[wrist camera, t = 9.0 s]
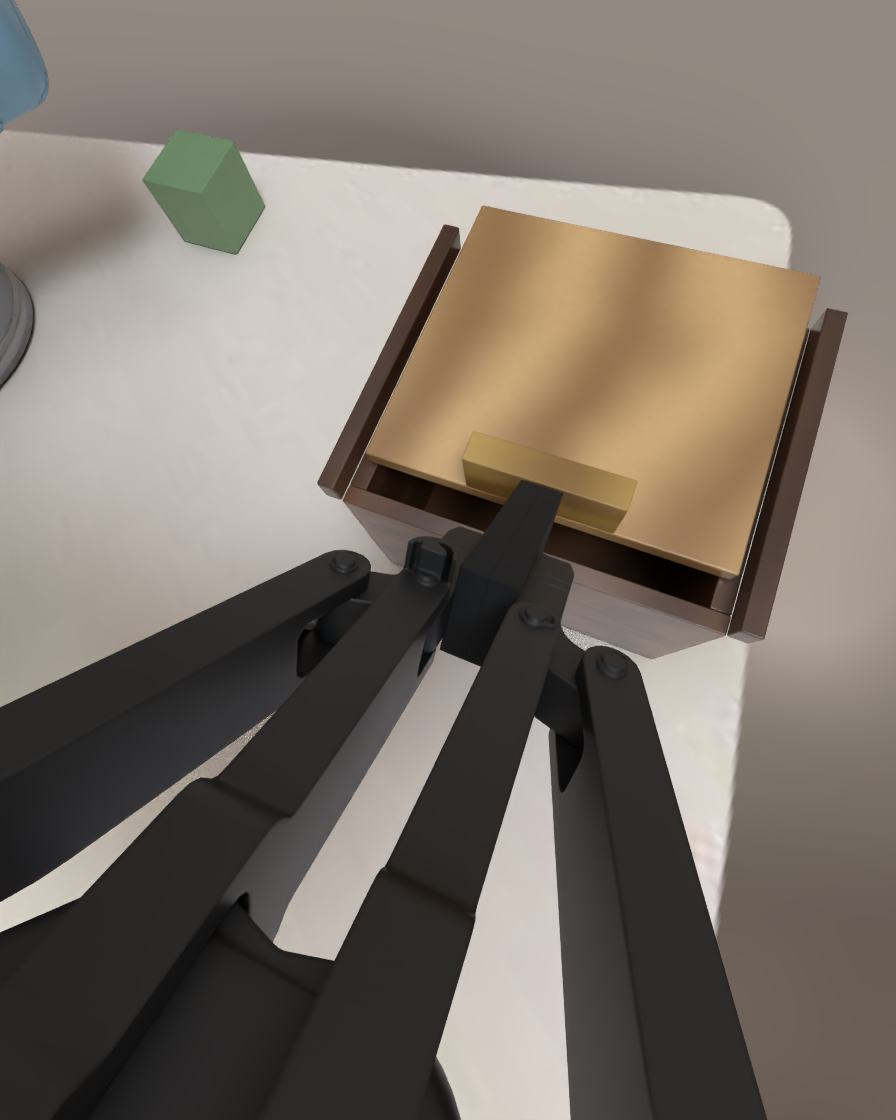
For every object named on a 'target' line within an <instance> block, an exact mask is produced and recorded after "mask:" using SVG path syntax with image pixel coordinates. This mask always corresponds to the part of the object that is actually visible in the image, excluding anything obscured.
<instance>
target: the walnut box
mask: <svg viewBox="0 0 896 1120" xmlns="http://www.w3.org/2000/svg"><path fill="white" fill-rule="evenodd" d="M460 249H461V245H460V234H459V228H458V227H454V226H450V225H444V226H443V228H442V230H441V232H440V234H439V236H438V238H437V240H436V242H435V244H434V246H433V248H432V250H431V252H430V254H429V256H428V258H427V260H426V262H425V264H424V266H423V268H422V270H421V272H420V274H419V276H418V279H417V281H416V283H415V285H414V287H413V289H412V291H411V293H410V295H409V297H408V299H407V301H406V303H405V305H404V307H403V309H402V311H401V313H400V315H399V317H398V319H397V321H396V323H395V325H394V327H393V329H392V331H391V334H390V336H389V338H388V340H387V342H386V344H385V346H384V348H383V350H382V352H381V354H380V356H379V358H378V360H377V362H376V364H375V366H374V368H373V370H372V372H371V374H370V376H369V378H368V380H367V382H366V384H365V387H364V389H363V391H362V393H361V395H360V397H359V399H358V401H357V403H356V405H355V407H354V409H353V411H352V413H351V415H350V417H349V419H348V421H347V423H346V425H345V427H344V429H343V431H342V433H341V435H340V437H339V439H338V442H337V444H336V446H335V448H334V450H333V452H332V454H331V456H330V458H329V460H328V462H327V464H326V466H325V468H324V470H323V472H322V474H321V476H320V478H319V480H318V483H317V484H318V485H319V486H320V488H321V489H322V490H323V491H324V492H325V494H326V495H329V496H331V497H334V498H337V499H342V498H343V495H344V493H345V491H346V489H347V487H348V485H349V483H350V481H351V479H352V476H353V474H354V472H355V470H356V468H357V466H358V464H359V462H360V460H361V458H362V455H363V453H364V451H365V449H366V447H367V445H368V443H369V441H370V439H371V437H372V434H373V432H374V430H375V428H376V426H377V424H378V422H379V420H380V418H381V415H382V413H383V411H384V409H385V407H386V405H387V403H388V401H389V399H390V397H391V394H392V392H393V390H394V388H395V386H396V384H397V382H398V380H399V378H400V375H401V373H402V371H403V369H404V367H405V365H406V363H407V361H408V359H409V357H410V354H411V352H412V350H413V348H414V346H415V344H416V342H417V340H418V338H419V336H420V333H421V331H422V329H423V327H424V325H425V323H426V321H427V319H428V317H429V314H430V312H431V310H432V308H433V306H434V304H435V302H436V300H437V298H438V296H439V293H440V291H441V289H442V287H443V285H444V283H445V281H446V279H447V277H448V274H449V272H450V270H451V268H452V266H453V264H454V262H455V260H456V258H457V256H458V253H459V251H460ZM847 314H848V313H847V312H842V311H838V310H833V309H829V308H827V310H826V311H825V312H824V313H823V314H822V315H821V317H820V318H819V319H818V320H817V322H816V323H815V324H814V325H813V327H812V328H811V330H810V334H809V337H808V333H809V329H808V328H807V330H806V333H805V337H804V341H803V344H802V348H801V351H800V355H799V359H798V362H797V366H796V370H795V373H794V377H793V380H792V384H791V388H790V391H789V395H788V399H787V402H786V406H785V409H784V413H783V417H782V420H781V424H780V428H779V431H778V435H777V439H776V442H775V446H774V449H773V453H772V457H771V460H770V464H769V468H768V471H767V475H766V478H765V482H764V486H763V489H762V493H761V497H760V500H759V504H758V507H757V511H756V515H755V518H754V522H753V526H752V529H751V533H750V536H749V540H748V544H747V547H746V551H745V555H744V558H743V562H742V565H741V569H740V573H739V575H738V576H736V577H734V578H733V579H731V580H728V579H725V578H722V577H719V576H716V575H713V574H710V573H707V572H704V571H701V570H698V569H695V568H692V567H689V566H686V565H683V564H680V563H677V562H674V561H671V560H668V559H665V558H662V557H659V556H656V555H653V554H650V553H647V552H644V551H641V550H637V549H634V548H631V547H628V546H625V545H622V544H619V543H616V542H613V541H610V540H607V539H604V538H601V537H598V536H595V535H592V534H589V533H586V532H583V531H580V530H577V529H574V528H571V527H568V526H565V525H562V524H559V523H556V522H554V523H553V526H552V528H551V531H550V534H549V537H548V540H547V543H546V546H545V549H544V552H543V554H544V555H547V556H550V557H553V558H555V559H558V560H561V561H564V562H567V563H570V564H571V567H572V569H573V571H574V574H575V575H574V578H573V582H572V585H571V588H570V592H569V595H568V599H567V602H566V605H565V609H564V612H563V615H562V619H561V626H563V627H566V628H569V629H571V630H574V631H577V632H579V633H582V634H585V635H588V636H590V637H593V638H596V639H598V640H601V641H604V642H606V643H609V644H612V645H614V646H617V647H620V648H623V649H625V650H628V651H631V652H633V653H636V654H639V655H641V656H644V657H647V658H649V659H654V658H657V657H660V656H663V655H667V654H670V653H673V652H676V651H679V650H682V649H685V648H689V647H692V646H695V645H698V644H701V643H704V642H707V641H710V640H714V639H717V638H720V637H723V636H726V633H727V630H728V626H729V622H730V619H731V616H730V615H731V614H732V611H733V607H734V603H735V600H736V596H737V592H738V589H739V585H740V581H741V578H742V574H743V570H744V567H745V563H746V559H747V556H748V552H749V549H750V545H751V541H752V538H753V534H754V530H755V527H756V523H757V519H758V516H759V512H760V508H761V505H762V501H763V497H764V494H765V490H766V487H767V483H768V479H769V476H770V472H771V468H772V465H773V461H774V457H775V454H776V450H777V446H778V443H779V439H780V435H781V431H782V428H783V424H784V421H785V417H786V414H787V410H788V406H789V403H790V399H791V395H792V392H793V388H794V384H795V381H796V377H797V373H798V370H799V366H800V362H801V359H802V355H803V351H804V348H805V344H806V341H807V337H808V341H807V345H806V349H805V352H804V356H803V360H802V363H801V367H800V370H799V374H798V378H797V381H796V385H795V389H794V393H793V396H792V400H791V403H790V407H789V411H788V414H787V418H786V422H785V425H784V429H783V433H782V436H781V440H780V443H779V447H778V451H777V454H776V458H775V462H774V465H773V469H772V473H771V476H770V480H769V484H768V487H767V491H766V495H765V498H764V502H763V506H762V509H761V513H760V517H759V520H758V524H757V527H756V531H755V535H754V538H753V542H752V546H751V549H750V553H749V557H748V560H747V564H746V568H745V571H744V575H743V579H742V582H741V586H740V590H739V593H738V597H737V601H736V604H735V608H734V612H733V615H732V619H731V623H730V626H729V630H728V634H727V636H729V637H731V638H734V639H737V640H740V641H743V642H746V643H752V642H756V641H760V640H763V639H764V638H765V634H766V630H767V627H768V623H769V619H770V615H771V611H772V607H773V603H774V599H775V595H776V591H777V588H778V584H779V580H780V576H781V572H782V568H783V564H784V560H785V556H786V552H787V549H788V545H789V540H790V537H791V533H792V529H793V525H794V521H795V517H796V513H797V510H798V506H799V502H800V498H801V494H802V490H803V486H804V482H805V478H806V475H807V471H808V467H809V462H810V459H811V455H812V451H813V447H814V443H815V439H816V436H817V432H818V427H819V424H820V420H821V416H822V412H823V408H824V404H825V400H826V396H827V393H828V388H829V385H830V381H831V377H832V373H833V369H834V365H835V361H836V357H837V354H838V350H839V346H840V342H841V338H842V334H843V330H844V326H845V322H846V319H847ZM343 502H344V503H345V505H346V506H347V507H348V508H349V510H350V511H351V512H352V513H353V515H354V516H355V517H356V518H357V520H358V521H359V522H360V523H361V525H362V526H363V527H364V528H365V530H366V531H367V532H368V533H369V535H370V536H371V537H372V538H373V540H374V541H375V542H376V543H377V545H378V546H379V547H380V548H381V550H382V551H383V552H384V553H385V555H386V556H387V557H388V558H389V560H390V561H391V562H392V563H394V564H396V565H399V566H402V567H404V564H405V558H406V552H407V546H408V541H410V540H411V539H413V538H416V537H421V536H430V537H436V538H440V539H442V537H443V536H444V535H445V534H446V533H447V531H449V530H451V529H454V528H457V527H459V526H461V527H464V528H467V529H469V530H472V531H475V532H478V533H481V534H484V532H485V531H486V529H487V528H488V527H489V525H490V524H491V522H492V521H493V520H494V518H495V517H496V515H497V514H498V513H499V511H500V510H501V508H502V507H503V505H501V504H498V503H495V502H492V501H489V500H486V499H483V498H480V497H477V496H474V495H471V494H468V493H465V492H462V491H459V490H456V489H453V488H450V487H447V486H444V485H441V484H438V483H435V482H432V481H429V480H426V479H423V478H420V477H417V476H414V475H410V474H407V473H404V472H401V471H398V470H395V469H392V468H389V467H386V466H383V465H380V464H377V463H374V462H371V461H369V459H368V457H367V455H366V454H364V457H363V459H362V461H361V463H360V465H359V467H358V469H357V471H356V473H355V475H354V478H353V480H352V482H351V484H350V486H349V488H348V490H347V492H346V494H345V497H344V499H343Z"/></svg>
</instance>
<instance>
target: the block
mask: <svg viewBox="0 0 896 1120" xmlns="http://www.w3.org/2000/svg"><path fill="white" fill-rule="evenodd" d="M143 182H144V183H145V185H146V186H147V188H148V189H149V191H150V192H151V194H152V195H153V196H154V198H155V199H156V201H157V202H158V204H159V205H160V207H161V208H162V209H163V211H164V212H165V214H166V215H167V217H168V218H169V220H170V221H171V222H172V224H173V225H174V227H175V228H176V230H177V231H178V233H179V234H180V235H181V237H182V238H183V240H184V241H186V242H190V243H194V244H198V245H202V246H206V247H210V248H214V249H218V250H221V251H225V252H229V253H233V254H237V253H238V251H239V249H240V248H241V246H242V244H243V243H244V241H245V239H246V238H247V236H248V234H249V233H250V231H251V229H252V228H253V226H254V224H255V223H256V221H257V219H258V217H259V216H260V214H261V212H262V211H263V209H264V207H265V205H264V203H263V201H262V199H261V197H260V195H259V192H258V190H257V188H256V186H255V184H254V182H253V180H252V178H251V176H250V174H249V172H248V170H247V168H246V166H245V163H244V161H243V159H242V157H241V155H240V153H239V151H238V149H237V147H236V145H235V143H234V141H231V140H226V139H222V138H216V137H212V136H207V135H202V134H197V133H192V132H187V131H182V130H176V131H175V132H174V134H173V135H172V137H171V138H170V140H169V141H168V143H167V144H166V145H165V147H164V148H163V150H162V151H161V153H160V154H159V156H158V157H157V159H156V160H155V162H154V163H153V165H152V166H151V168H150V169H149V171H148V172H147V174H146V175H145V177H144V178H143Z"/></svg>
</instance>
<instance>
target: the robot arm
mask: <svg viewBox="0 0 896 1120" xmlns="http://www.w3.org/2000/svg"><path fill="white" fill-rule="evenodd" d="M47 92H48V74H47V70H46V67H45V63H44V61H43V58H42V56H41V53H40V51H39V49H38V46H37V44H36V42H35V40H34V38H33V36H32V34H31V32H30V30H29V28H28V26H27V24H26V22H25V20H24V18H23V16H22V14H21V12H20V10H19V8H18V7H17V4H16V2H15V1H14V0H0V133H1V132H2V131H3V126H4V125H5V124H7V123H9V122H11V121H13V120H14V119H16V118H18V117H20V116H22V115H24V114H26V113H27V112H29V111H31V110H33V109H35V108H37V107H38V106H40V105H41V104H42V102H43V101H44V100H45V98H46V96H47ZM32 322H33V309H32V303H31V299H30V296H29V294H28V291H27V290H26V288H25V286H24V285H23V284H22V282H21V281H20V280H19V279H18V278H17V277H16V276H15V275H13V274H12V273H11V272H10V271H9V270H8V269H7V268H5V267H4V266H3V265H2V264H1V263H0V385H1V384H2V383H3V382H4V381H5V380H6V379H7V377H8V376H9V375H10V374H11V372H12V371H13V369H14V368H15V367H16V365H17V363H18V362H19V360H20V358H21V356H22V355H23V353H24V351H25V348H26V346H27V343H28V340H29V337H30V334H31V329H32ZM563 494H564V493H561V492H558V491H555V490H552V489H549V488H546V487H543V486H540V485H537V484H533V483H530V482H527V481H524V480H521V482H520V483H519V484H518V486H517V487H516V489H515V490H514V491H513V493H512V494H511V496H510V497H509V498H508V500H507V501H506V503H505V504H504V505H503V507H502V508H501V510H500V511H499V513H498V514H497V515H496V517H495V518H494V520H493V521H492V522H491V524H490V525H489V527H488V528H487V529H486V531H485V532H484V534H481V533H478V532H475V531H472V530H469V529H467V528H464V527H461V526H459V527H457V528H454V529H451V530H449V531H447V533H446V534H445V535H444V536H443V537H442V539H440V538H436V537H430V536H421V537H416V538H413V539H411V540H410V541H408V546H407V552H406V558H405V564H404V569H403V570H402V571H401V572H400V573H399V574H397V575H391V574H382V573H376V572H370V570H371V564H370V562H369V560H368V559H367V558H365V557H364V556H363V555H361V554H358V553H356V552H353V551H348V550H335V551H331V552H328V553H325V554H323V555H321V556H319V557H316V558H314V559H312V560H310V561H308V562H306V563H304V564H302V565H300V566H297V567H295V568H293V569H291V570H289V571H287V572H285V573H283V574H281V575H278V576H276V577H274V578H272V579H270V580H268V581H266V582H264V583H262V584H259V585H257V586H255V587H253V588H251V589H249V590H247V591H245V592H243V593H240V594H238V595H236V596H234V597H232V598H230V599H228V600H226V601H224V602H221V603H219V604H217V605H215V606H213V607H211V608H209V609H207V610H205V611H202V612H200V613H198V614H196V615H194V616H192V617H190V618H188V619H186V620H184V621H181V622H179V623H177V624H175V625H173V626H171V627H169V628H167V629H165V630H162V631H160V632H158V633H156V634H154V635H152V636H150V637H148V638H146V639H143V640H141V641H139V642H137V643H135V644H133V645H131V646H129V647H127V648H124V649H122V650H120V651H118V652H116V653H114V654H112V655H110V656H108V657H105V658H103V659H101V660H99V661H97V662H95V663H93V664H91V665H89V666H86V667H84V668H82V669H80V670H78V671H76V672H74V673H72V674H70V675H67V676H65V677H63V678H61V679H59V680H57V681H55V682H53V683H51V684H49V685H46V686H44V687H42V688H40V689H38V690H36V691H34V692H32V693H30V694H27V695H25V696H23V697H21V698H19V699H17V700H15V701H13V702H11V703H8V704H6V705H4V706H2V707H0V902H1V901H3V900H5V899H6V898H8V897H10V896H12V895H13V894H15V893H17V892H19V891H20V890H22V889H24V888H26V887H27V886H29V885H31V884H33V883H34V882H36V881H38V880H39V879H41V878H42V877H44V876H45V875H47V874H48V873H50V872H51V871H53V870H54V869H56V868H57V867H59V866H60V865H62V864H63V863H65V862H66V861H68V860H69V859H71V858H72V857H74V856H75V855H76V854H78V853H79V852H80V851H82V850H83V849H85V848H86V847H87V846H89V845H90V844H92V843H93V842H94V841H96V840H97V839H99V838H100V837H101V836H103V835H104V834H105V833H107V832H108V831H110V830H111V829H112V828H114V827H115V826H117V825H118V824H119V823H121V822H122V821H124V820H125V819H126V818H128V817H129V816H130V815H132V814H133V813H135V812H136V811H137V810H139V809H140V808H142V807H143V806H144V805H146V804H147V803H149V802H150V801H151V800H153V799H154V798H155V797H157V796H158V795H160V794H161V793H162V792H164V791H165V790H167V789H168V788H169V787H171V786H172V785H174V784H175V783H176V782H178V781H179V780H181V779H182V778H183V777H185V776H186V775H187V774H189V773H190V772H192V771H193V770H194V769H196V768H197V767H199V766H200V765H201V764H203V763H204V762H206V761H207V760H208V759H210V758H211V757H212V756H214V755H215V754H217V753H218V752H219V751H221V750H222V749H224V748H225V747H226V746H228V745H229V744H231V743H232V742H233V741H235V740H236V739H237V738H239V737H240V736H242V735H243V734H244V733H246V732H247V731H249V730H250V729H251V728H253V727H254V726H256V725H257V724H258V723H260V722H261V721H262V720H264V719H265V718H267V717H268V716H269V715H271V714H272V713H274V712H275V711H276V710H277V711H276V712H275V713H274V714H273V715H272V717H271V718H270V719H269V720H268V721H267V722H266V723H265V724H264V726H263V727H262V728H261V729H260V730H259V731H258V732H257V733H256V734H255V736H254V737H253V738H252V739H251V740H250V741H249V742H248V743H247V745H246V746H245V747H244V748H243V749H242V750H241V751H240V752H239V754H238V755H237V756H236V757H235V758H234V759H233V760H232V761H231V763H230V764H229V765H228V766H227V767H226V768H225V769H224V770H223V771H222V772H221V773H220V774H219V775H218V776H216V777H214V778H212V779H210V778H199V779H197V780H195V781H193V782H191V783H190V784H189V785H187V786H186V787H185V788H184V789H183V790H182V791H181V792H180V793H178V795H177V796H176V797H175V798H174V799H173V800H172V801H171V802H170V803H169V804H168V805H167V806H166V807H165V808H164V809H163V810H162V812H161V813H160V814H159V815H158V816H157V817H156V818H155V819H154V820H153V821H152V822H151V823H150V824H149V825H148V826H147V828H146V829H145V830H144V831H143V832H142V833H141V834H140V835H139V836H138V837H137V838H136V839H135V840H134V841H133V842H132V843H131V845H130V846H129V847H128V848H127V849H126V850H125V851H124V852H123V853H122V854H121V855H120V856H119V857H118V858H117V859H116V860H115V862H114V863H113V864H112V865H111V866H110V867H109V868H108V869H107V870H106V871H105V872H104V873H103V874H102V875H101V876H100V878H99V879H98V880H97V881H96V882H95V883H94V884H93V885H92V886H91V887H90V888H89V889H88V890H87V891H86V892H85V893H84V895H83V896H82V897H81V898H78V899H76V900H74V901H72V902H69V903H67V904H65V905H62V906H60V907H58V908H55V909H53V910H51V911H49V912H46V913H44V914H42V915H39V916H37V917H35V918H32V919H30V920H28V921H25V922H23V923H21V924H19V925H16V926H14V927H12V928H9V929H7V930H5V931H2V932H0V1120H461V1118H460V1115H459V1111H458V1108H457V1105H456V1101H455V1098H454V1095H453V1092H452V1089H451V1087H450V1084H449V1082H448V1080H447V1077H446V1075H445V1072H444V1070H443V1068H442V1066H441V1064H440V1063H439V1061H438V1059H437V1057H436V1054H437V1051H438V1048H439V1044H440V1041H441V1037H442V1034H443V1031H444V1027H445V1024H446V1020H447V1017H448V1014H449V1010H450V1007H451V1004H452V1000H453V997H454V993H455V990H456V987H457V983H458V980H459V977H460V973H461V970H462V966H463V963H464V960H465V956H466V953H467V949H468V946H469V942H470V939H471V935H472V932H473V928H474V923H475V919H476V917H475V913H476V908H477V904H478V901H479V897H480V894H481V891H482V887H483V884H484V881H485V878H486V874H487V871H488V868H489V864H490V861H491V858H492V854H493V851H494V848H495V844H496V841H497V838H498V834H499V831H500V828H501V824H502V821H503V818H504V814H505V811H506V808H507V804H508V801H509V798H510V795H511V791H512V788H513V785H514V781H515V778H516V775H517V771H518V768H519V765H520V761H521V758H522V755H523V751H524V748H525V745H526V741H527V738H528V735H529V731H530V728H531V725H532V721H533V718H534V717H536V718H537V719H538V720H540V721H541V722H542V723H544V724H545V725H546V726H548V727H549V728H550V731H549V751H550V768H551V785H552V803H553V820H554V837H555V855H556V872H557V889H558V907H559V924H560V941H561V959H562V976H563V993H564V1011H565V1028H566V1045H567V1063H568V1080H569V1097H570V1114H571V1120H767V1118H766V1114H765V1110H764V1107H763V1103H762V1100H761V1096H760V1093H759V1089H758V1086H757V1082H756V1078H755V1075H754V1072H753V1068H752V1065H751V1061H750V1057H749V1054H748V1050H747V1047H746V1043H745V1040H744V1036H743V1033H742V1029H741V1025H740V1022H739V1019H738V1015H737V1011H736V1008H735V1004H734V1001H733V998H732V994H731V990H730V987H729V983H728V980H727V976H726V973H725V969H724V965H723V962H722V958H721V955H720V951H719V948H718V944H717V941H716V937H715V934H714V930H713V927H712V923H711V920H710V916H709V912H708V909H707V905H706V902H705V898H704V895H703V891H702V888H701V884H700V881H699V877H698V874H697V870H696V867H695V863H694V860H693V856H692V852H691V849H690V845H689V842H688V838H687V835H686V831H685V828H684V824H683V821H682V817H681V814H680V810H679V807H678V803H677V800H676V796H675V792H674V789H673V785H672V782H671V778H670V775H669V771H668V768H667V764H666V761H665V757H664V754H663V750H662V747H661V743H660V739H659V736H658V732H657V729H656V725H655V722H654V718H653V715H652V711H651V708H650V704H649V701H648V697H647V694H646V690H645V687H644V683H643V679H642V676H641V673H640V671H639V669H638V667H637V665H636V664H635V663H634V662H633V661H632V660H631V659H630V658H629V657H628V656H627V655H625V654H623V653H622V652H620V651H618V650H616V649H613V648H610V647H606V646H594V647H590V648H588V649H587V650H586V651H584V650H583V649H581V648H579V647H578V646H577V645H575V644H574V643H573V642H571V641H570V640H569V639H568V638H567V637H566V635H565V634H564V632H563V631H562V627H561V619H562V615H563V612H564V609H565V605H566V602H567V599H568V595H569V592H570V588H571V585H572V582H573V578H574V575H575V574H574V571H573V569H572V567H571V564H570V563H567V562H564V561H561V560H558V559H555V558H553V557H550V556H547V555H544V554H543V552H544V549H545V546H546V543H547V540H548V537H549V534H550V531H551V528H552V526H553V523H554V520H555V517H556V514H557V511H558V508H559V505H560V502H561V499H562V497H563ZM313 621H314V622H313ZM311 622H312V623H311ZM310 623H311V624H310ZM442 637H443V638H442ZM441 639H442V642H441V646H440V650H442V651H444V652H447V653H449V654H451V655H454V656H456V657H459V658H461V659H464V660H466V661H468V662H471V663H473V664H476V665H478V666H481V668H480V670H479V672H478V674H477V676H476V678H475V680H474V683H473V685H472V687H471V689H470V691H469V693H468V695H467V697H466V699H465V701H464V703H463V706H462V708H461V710H460V712H459V714H458V716H457V718H456V720H455V722H454V724H453V726H452V729H451V731H450V733H449V735H448V737H447V739H446V741H445V743H444V745H443V747H442V749H441V752H440V754H439V756H438V758H437V760H436V762H435V764H434V766H433V768H432V770H431V773H430V775H429V777H428V779H427V781H426V783H425V785H424V787H423V789H422V791H421V793H420V796H419V798H418V800H417V802H416V804H415V806H414V808H413V810H412V812H411V814H410V816H409V819H408V821H407V823H406V825H405V827H404V829H403V831H402V833H401V835H400V837H399V839H398V842H397V844H396V846H395V848H394V850H393V852H392V854H391V856H390V858H389V860H388V862H387V864H386V865H385V867H383V868H382V869H381V870H380V871H379V873H378V874H377V876H376V878H375V879H374V881H373V883H372V885H371V887H370V889H369V891H368V893H367V895H366V897H365V899H364V901H363V903H362V905H361V907H360V909H359V912H358V914H357V916H356V918H355V920H354V922H353V924H352V926H351V928H350V930H349V932H348V934H347V936H346V938H345V940H344V942H343V944H342V946H341V949H340V951H339V953H338V955H337V957H336V959H335V961H332V960H327V959H322V958H317V957H312V956H307V955H302V954H297V953H292V952H287V951H283V950H281V949H279V948H278V947H277V946H276V945H275V944H274V943H273V940H274V938H275V936H276V934H277V932H278V929H279V927H280V924H281V921H282V919H283V916H284V913H285V911H286V909H287V907H288V904H289V902H290V901H291V899H292V897H293V895H294V893H295V892H296V890H297V888H298V887H299V885H300V883H301V882H302V880H303V878H304V877H305V875H306V873H307V872H308V870H309V868H310V867H311V865H312V863H313V862H314V860H315V858H316V856H317V855H318V853H319V851H320V850H321V848H322V846H323V845H324V843H325V841H326V840H327V838H328V836H329V835H330V833H331V831H332V830H333V828H334V826H335V825H336V823H337V821H338V820H339V818H340V816H341V815H342V813H343V811H344V810H345V808H346V806H347V805H348V803H349V801H350V800H351V798H352V796H353V795H354V793H355V791H356V790H357V788H358V786H359V784H360V783H361V781H362V779H363V778H364V776H365V774H366V773H367V771H368V769H369V768H370V766H371V764H372V763H373V761H374V759H375V758H376V756H377V754H378V753H379V751H380V749H381V748H382V746H383V744H384V743H385V741H386V739H387V738H388V736H389V734H390V733H391V731H392V729H393V728H394V726H395V724H396V723H397V721H398V719H399V718H400V716H401V714H402V713H403V711H404V709H405V707H406V706H407V704H408V702H409V701H410V699H411V697H412V696H413V694H414V692H415V691H416V689H417V687H418V686H419V684H420V682H421V681H422V679H423V677H424V676H425V674H426V672H427V671H428V669H429V667H430V666H431V664H432V662H433V659H434V655H435V651H436V647H437V646H438V644H439V642H440V641H441Z"/></svg>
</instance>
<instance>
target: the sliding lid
mask: <svg viewBox="0 0 896 1120" xmlns="http://www.w3.org/2000/svg"><path fill="white" fill-rule="evenodd" d="M820 279H821V277H820V276H818V275H813V274H808V273H803V272H798V271H794V270H789V269H784V268H779V267H774V266H770V265H765V264H760V263H755V262H750V261H746V260H741V259H736V258H731V257H727V256H722V255H717V254H712V253H707V252H703V251H698V250H693V249H688V248H683V247H679V246H674V245H669V244H664V243H659V242H655V241H650V240H645V239H640V238H636V237H631V236H626V235H621V234H616V233H612V232H607V231H602V230H597V229H592V228H588V227H583V226H578V225H573V224H568V223H564V222H559V221H554V220H549V219H545V218H540V217H535V216H530V215H525V214H521V213H516V212H511V211H506V210H501V209H497V208H492V207H487V206H482V207H481V210H480V212H479V214H478V216H477V218H476V220H475V222H474V224H473V226H472V228H471V231H470V233H469V235H468V237H467V239H466V241H465V243H464V245H463V247H462V250H461V252H460V254H459V256H458V258H457V260H456V262H455V264H454V266H453V268H452V271H451V273H450V275H449V277H448V279H447V281H446V283H445V285H444V287H443V290H442V292H441V294H440V296H439V298H438V300H437V302H436V304H435V306H434V309H433V311H432V313H431V315H430V317H429V319H428V321H427V323H426V325H425V327H424V330H423V332H422V334H421V336H420V338H419V340H418V342H417V344H416V346H415V349H414V351H413V353H412V355H411V357H410V359H409V361H408V363H407V365H406V368H405V370H404V372H403V374H402V376H401V378H400V380H399V382H398V384H397V386H396V389H395V391H394V393H393V395H392V397H391V399H390V401H389V403H388V405H387V408H386V410H385V412H384V414H383V416H382V418H381V420H380V422H379V424H378V427H377V429H376V431H375V433H374V435H373V437H372V439H371V441H370V443H369V445H368V448H367V450H366V452H365V454H366V455H367V457H368V459H369V461H371V462H374V463H377V464H380V465H383V466H386V467H389V468H392V469H395V470H398V471H401V472H404V473H407V474H410V475H414V476H417V477H420V478H423V479H426V480H429V481H432V482H435V483H438V484H441V485H444V486H447V487H450V488H453V489H456V490H459V491H462V492H465V493H468V494H471V495H474V496H477V497H480V498H483V499H486V500H489V501H492V502H495V503H498V504H501V505H504V504H505V503H506V501H507V500H508V498H509V497H510V496H511V494H512V493H513V491H514V490H515V489H516V487H517V486H518V484H519V483H520V482H521V480H524V481H527V482H530V483H533V484H537V485H540V486H543V487H546V488H549V489H552V490H555V491H558V492H561V493H564V494H563V497H562V499H561V502H560V505H559V508H558V511H557V514H556V517H555V520H554V522H556V523H559V524H562V525H565V526H568V527H571V528H574V529H577V530H580V531H583V532H586V533H589V534H592V535H595V536H598V537H601V538H604V539H607V540H610V541H613V542H616V543H619V544H622V545H625V546H628V547H631V548H634V549H637V550H641V551H644V552H647V553H650V554H653V555H656V556H659V557H662V558H665V559H668V560H671V561H674V562H677V563H680V564H683V565H686V566H689V567H692V568H695V569H698V570H701V571H704V572H707V573H710V574H713V575H716V576H719V577H722V578H725V579H728V580H731V579H733V578H734V577H736V576H738V575H739V573H740V569H741V565H742V562H743V558H744V555H745V551H746V547H747V544H748V540H749V536H750V533H751V529H752V526H753V522H754V518H755V515H756V511H757V507H758V504H759V500H760V497H761V493H762V489H763V486H764V482H765V478H766V475H767V471H768V468H769V464H770V460H771V457H772V453H773V449H774V446H775V442H776V439H777V435H778V431H779V428H780V424H781V420H782V417H783V413H784V409H785V406H786V402H787V399H788V395H789V391H790V388H791V384H792V380H793V377H794V373H795V370H796V366H797V362H798V359H799V355H800V351H801V348H802V344H803V341H804V337H805V333H806V330H807V326H808V322H809V319H810V315H811V311H812V308H813V304H814V301H815V297H816V293H817V290H818V286H819V282H820Z"/></svg>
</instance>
